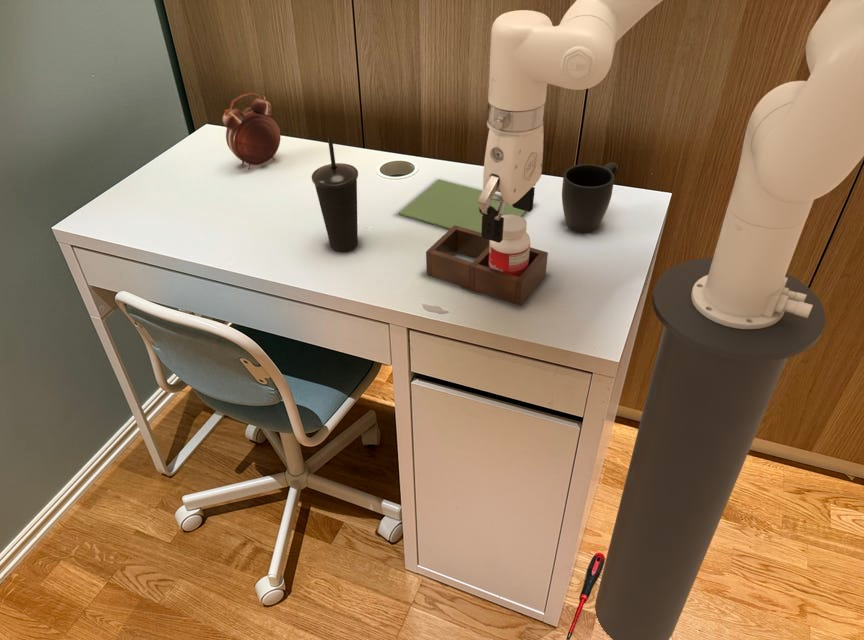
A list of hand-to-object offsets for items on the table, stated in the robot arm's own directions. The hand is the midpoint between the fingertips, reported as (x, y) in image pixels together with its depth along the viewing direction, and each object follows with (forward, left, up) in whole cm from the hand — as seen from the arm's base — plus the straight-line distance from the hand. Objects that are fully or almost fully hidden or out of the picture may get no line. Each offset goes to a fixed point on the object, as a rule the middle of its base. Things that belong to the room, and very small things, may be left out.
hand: (507, 223), depth 107 cm
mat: (+17, -16, -11) cm, 25 cm away
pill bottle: (0, 0, -11) cm, 11 cm away
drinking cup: (+29, +4, -11) cm, 32 cm away
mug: (-4, -23, -11) cm, 26 cm away
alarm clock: (+65, -12, -11) cm, 67 cm away
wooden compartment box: (+4, 0, -11) cm, 11 cm away
